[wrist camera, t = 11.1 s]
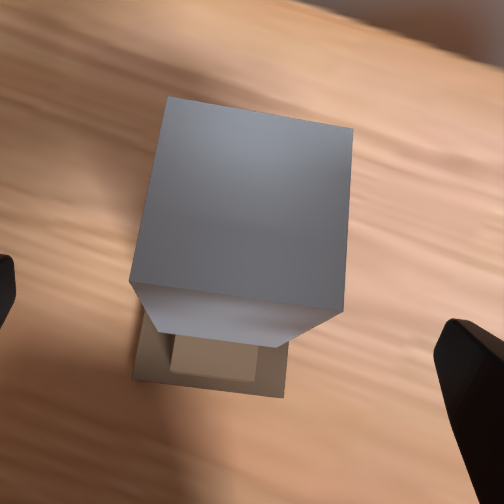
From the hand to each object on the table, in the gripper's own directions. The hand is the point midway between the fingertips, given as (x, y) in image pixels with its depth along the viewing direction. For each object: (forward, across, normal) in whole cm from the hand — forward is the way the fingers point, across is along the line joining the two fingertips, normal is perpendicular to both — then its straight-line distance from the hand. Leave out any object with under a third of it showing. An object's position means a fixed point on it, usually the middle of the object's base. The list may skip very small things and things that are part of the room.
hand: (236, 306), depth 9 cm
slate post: (+9, 0, +5) cm, 10 cm away
